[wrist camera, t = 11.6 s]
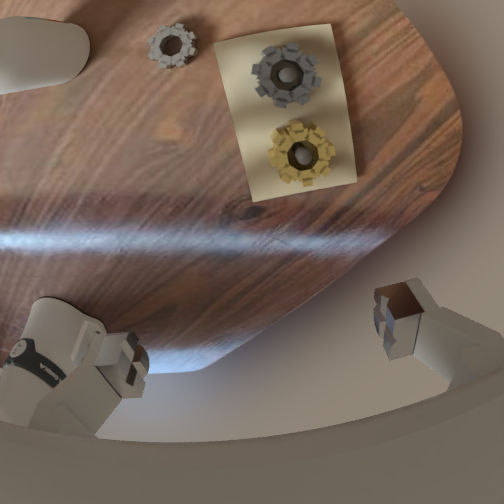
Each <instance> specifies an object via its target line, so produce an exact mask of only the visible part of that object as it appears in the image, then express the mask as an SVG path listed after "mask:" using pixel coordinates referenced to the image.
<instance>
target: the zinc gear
mask: <svg viewBox="0 0 504 504" xmlns="http://www.w3.org/2000/svg"><path fill="white" fill-rule="evenodd" d="M158 29H159V32H158V33H157V34H158V35H155V36H154V37H150V38H149V40H148V43H147V44H151V46H150V47H152V49H150V50H151V52H150V53H148V56H149V58H150V60H153V61H158V62H160V64H159V67H162V68H166V69H171V67H172V66H175V65H176V66H177V67H179V68H182V67H185V66H187V65H188V63H187V61H188V60H189V58H191V57H192V56H195V57H196V56H197V53H198V51H199V50H198V49H196V46H194V45H195V44H196V43H195V42H196V41H198V38H197V36H196V34H195V33H194V32H193V31H192V32H188V31H187V29H188V28H187V27H186V26H185V25H183V24H179V23H176V25H175V27H174V26H172V27H170V26H167V25H163V26H161V27H159V28H158ZM174 37H178V38H180V39H181V41H182V43H183V46H182V48H181V50H180V53H178V54H176V55H174V56H172V57H171V56H168V55H167V53H166V51H165V49H164V48H165V46H166V44H167V41H168V40H170V39H172V38H174ZM188 57H189V58H188Z"/></svg>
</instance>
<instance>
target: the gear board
mask: <svg viewBox="0 0 504 504" xmlns="http://www.w3.org/2000/svg"><path fill="white" fill-rule="evenodd" d="M288 42H289V43H293V44H298V45H299V46H298V51H302V54H301V55H303V54H306V55H307V56H308V55H311V54H313V55H314V56H315V58H316V59H317V60H318V62H319V63H317V64H316V65H314V67H315V68H316V69H315V70H314V71H313V72H317V74H316V76H317V77H321V78H322V81H321V85H320V88H318V87H314V88H313V90H309V91H310V92H311V93H310V94H308V97H309V98H310V100H311V101H309V102H307V103H306V104H304V105H303V106H302V105H300V104H298V103H297V102H295V103H294V102H292V103H287V106H286V108H281V107H276V106H274V105H273V100H272V99H271V98H270V97H268V96H267V95H265V96H263V97H262V98H261V97H260V96H259V94H258V93H257V92H256V90H255V89H254V88H256V87H257V86H259V84H258V83H257V82H258V81H259V80H258V79H256V77H257V75H251V71H252V66H253V64H258V65H259V62H260V61H261V59H262V58H263V56H262V54H261V52H262V50H264V49H265V48H267V47H269V46H270V45H272V47H273V48H274V49H275V50H276V49H278V48H279V49H281V48H282V47H284V46H285V45H286V44H287V43H288ZM213 45H214V49H215V53H216V57H217V61H218V64H219V68H220V72H221V76H222V80H223V84H224V88H225V92H226V95H227V99H228V103H229V107H230V111H231V115H232V119H233V123H234V127H235V131H236V135H237V139H238V143H239V147H240V151H241V155H242V159H243V163H244V167H245V171H246V175H247V179H248V183H249V187H250V191H251V195H252V199H253V202H256V201H261V200H266V199H271V198H276V197H281V196H286V195H291V194H296V193H301V192H306V191H312V190H317V189H322V188H328V187H333V186H339V185H344V184H350V183H356V182H357V175H356V166H355V157H354V149H353V141H352V134H351V127H350V120H349V113H348V107H347V101H346V95H345V90H344V84H343V79H342V74H341V68H340V64H339V59H338V54H337V49H336V45H335V40H334V36H333V32H332V28H331V24H322V25H311V26H302V27H294V28H287V29H280V30H274V31H268V32H262V33H257V34H252V35H247V36H242V37H237V38H233V39H229V40H224V41H220V42H216V43H213ZM298 76H299V72H298V71H297V69H296V68H295V66H294V65H293V64H292V63H289V62H284V61H279V62H277V63H275V64H274V65H272V68H271V73H270V80H271V81H272V82H273V84H274V85H275V86H276V88H277V89H282V90H288V89H290V88H292V87H293V86H295V85H296V84H297V81H298ZM294 119H298V120H299V121H300V122H302V124H303V125H307V126H309V125H310V123H311V122H312V123H314V124H315V125H316V126H318V127H319V128H321V129H322V130H323V131H325V132H326V134H325V135H324V136H323V138H325V139H327V140H328V141H330V142H331V143H332V144H333V145H334V147H335V154H336V155H334V156H330V160H327V161H328V162H329V165H328V166H329V167H330V168H331V169H332V170H331V171H330V173H329V174H328V175H327V177H325V176H323V175H322V174H321V175H320V177H318V176H316V179H314V180H312V181H313V185H312V186H307V187H303V185H302V183H301V182H298V180H296V182H295V181H293V180H291V182H290V183H289V184H287V183H286V182H284V181H282V180H281V179H280V177H279V173H278V167H277V166H274V167H271V163H270V159H269V154H268V150H270V149H273V146H272V145H274V144H273V142H272V140H271V137H270V136H271V134H272V133H273V132H274V130H275V129H277V130H279V131H281V130H282V129H284V130H286V128H285V127H287V126H289V124H288V120H294ZM312 152H313V149H312V143H311V142H309V141H308V140H304V141H298V142H294V143H293V144H292V146H291V147H290V149H289V150H288V151H287V157H288V159H290V160H291V161H293V162H294V163H297V162H299V163H300V164H303V165H307V164H309V163H310V162H311V160H312V155H311V154H312Z"/></svg>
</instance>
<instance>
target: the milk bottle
mask: <svg viewBox="0 0 504 504" xmlns="http://www.w3.org/2000/svg"><path fill="white" fill-rule="evenodd" d="M89 52H90V42H89V38H88V35H87V33H86V32H85V30H84V29H83V28H82V27H80V26H78V25H76V24H72V23H67V22H62V21H56V20H50V19H43V18H34V17H18V16H15V17H7V18H3V19H0V94H6V93H12V92H17V91H23V90H28V89H34V88H39V87H45V86H51V85H58V84H62V83H66V82H68V81H70V80H72V79H73V78H74V77H76V76H77V75H78V74H79V73H80V71H81V70H82V69H83V67H84V66H85V64H86V62H87V60H88V56H89Z"/></svg>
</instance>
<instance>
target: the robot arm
mask: <svg viewBox="0 0 504 504" xmlns="http://www.w3.org/2000/svg"><path fill="white" fill-rule="evenodd" d="M374 299H375V301H376V303H377V305H376V307H375V308H374V322H375V327H376V330H377V333H378V335H379V336H380V337H382V338H383V339H384V341H383V347H384V349H385V351H386V354H387V356H388V358H389V360H393V359H397V358H401V357H405V356H408V355H412V354H413V356H415V357H416V358H417V359H419V360H420V361H421V362H423V363H424V364H425V365H427V366H428V367H430V368H431V369H432V370H434V371H435V372H437V373H438V374H439V375H441V376H442V377H443V378H445V379H446V380H447V381H449V382H450V384H449V387H448V389H447V391H446V392H444V393H442V394H439V395H437V396H434V397H431V398H428V399H425V400H422V401H420V402H417V403H414V404H411V405H408V406H405V407H401V408H399V409H395V410H392V411H388V412H385V413H381V414H378V415H374V416H370V417H366V418H363V419H359V420H355V421H350V422H346V423H342V424H338V425H333V426H328V427H323V428H318V429H313V430H307V431H302V432H296V433H289V434H282V435H275V436H268V437H259V438H250V439H239V440H227V441H209V442H136V441H120V440H119V441H118V440H108V439H99V438H98V437H97V436H95V435H94V434H95V433H96V432H97V430H98V429H99V428H100V427H101V426H102V424H103V423H104V422H105V420H106V419H107V418H108V417H109V415H110V414H111V413H112V412H113V410H114V409H115V408H116V407H117V405H118V404H119V403H120V401H121V400H122V398H142V394H143V390H144V387H145V381H144V379H143V378H144V376H146V375H147V373H148V370H149V358H148V355H147V352H146V351H145V349H144V348H143V347H142V346H140V345H138V340H139V339H138V337H137V336H136V334H135V333H134V332H120V333H108V334H107V332H106V330H105V327H104V325H103V324H102V322H100V321H99V320H97V319H95V318H92V317H90V316H87V315H85V314H83V313H81V312H80V311H78V310H77V309H76V308H74V307H73V306H71V305H69V304H67V303H65V302H63V301H61V300H58V299H54V298H41V299H38V300H36V301H35V302H34V303H33V305H32V308H31V312H30V315H29V319H28V321H27V324H26V326H25V329H24V331H23V333H22V335H21V338H20V340H18V341H17V343H16V344H15V345H14V347H13V348H12V350H11V352H10V354H9V355H8V357H7V359H6V361H5V363H4V365H3V372H2V374H1V376H0V504H504V338H503V337H502V335H501V334H500V333H499V332H497V331H494V330H492V329H490V328H488V327H486V326H484V325H482V324H480V323H477V322H475V321H473V320H471V319H469V318H467V317H464V316H463V315H460V314H458V313H456V312H454V311H452V310H450V309H447V308H445V307H441V308H440V307H439V306H438V304H437V303H436V302H435V300H434V299H433V297H432V296H431V294H430V293H429V292H428V290H427V289H426V288H425V286H424V285H423V283H422V282H421V281H420V280H419V279H418V278H414V279H410V280H407V281H404V282H400V283H396V284H392V285H388V286H385V287H380V288H376V289H375V292H374Z"/></svg>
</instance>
